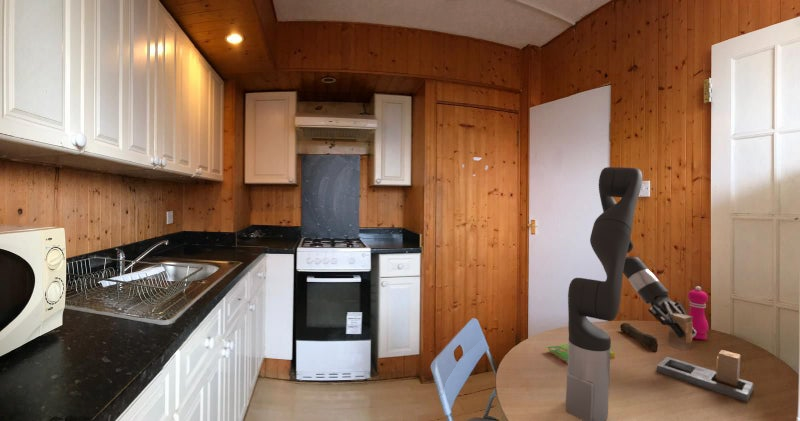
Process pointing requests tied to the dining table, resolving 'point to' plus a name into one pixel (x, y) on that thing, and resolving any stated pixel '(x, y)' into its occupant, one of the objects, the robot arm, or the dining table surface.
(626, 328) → the dark brown stick
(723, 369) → the gray block holder
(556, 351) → the game box
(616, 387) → the dining table surface
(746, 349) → the dining table surface
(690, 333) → the tan wooden block
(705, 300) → the pepper mill
